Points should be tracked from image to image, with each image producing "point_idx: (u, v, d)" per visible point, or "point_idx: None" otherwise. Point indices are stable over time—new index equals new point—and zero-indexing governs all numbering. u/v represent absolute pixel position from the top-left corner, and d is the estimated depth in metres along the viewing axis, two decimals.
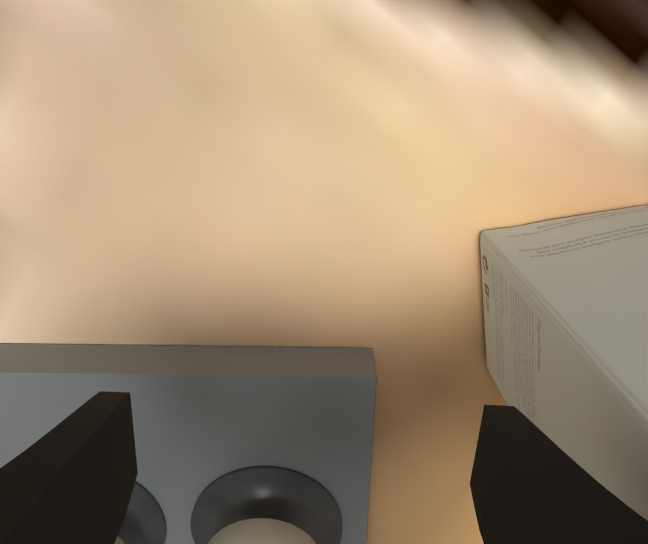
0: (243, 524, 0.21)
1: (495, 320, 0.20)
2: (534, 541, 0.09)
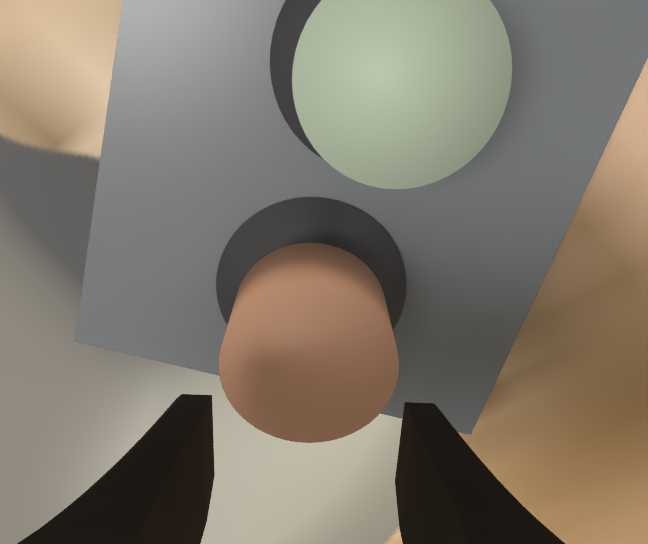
0: None
1: None
2: (435, 537, 0.09)
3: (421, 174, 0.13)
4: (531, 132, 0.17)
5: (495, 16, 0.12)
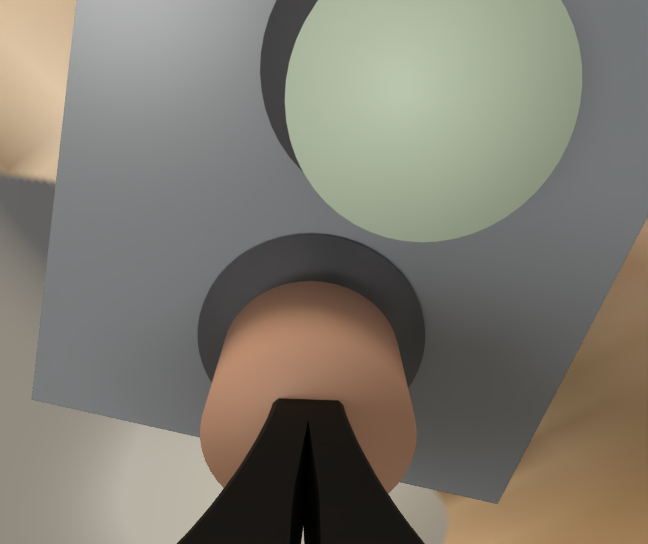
0: None
1: None
2: (314, 534, 0.09)
3: (456, 223, 0.10)
4: (580, 156, 0.14)
5: (562, 14, 0.08)
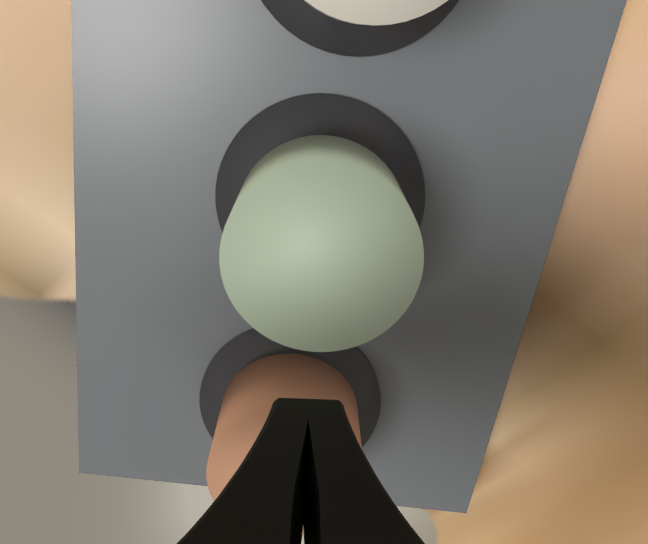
0: None
1: None
2: (314, 533, 0.09)
3: (355, 336, 0.14)
4: (476, 240, 0.18)
5: (397, 198, 0.12)
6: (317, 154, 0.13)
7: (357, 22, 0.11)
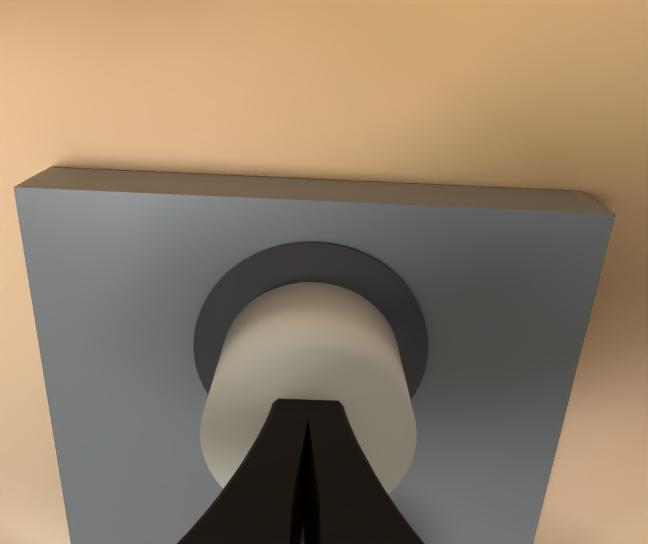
0: None
1: None
2: (314, 534, 0.09)
3: None
4: None
5: None
6: None
7: None
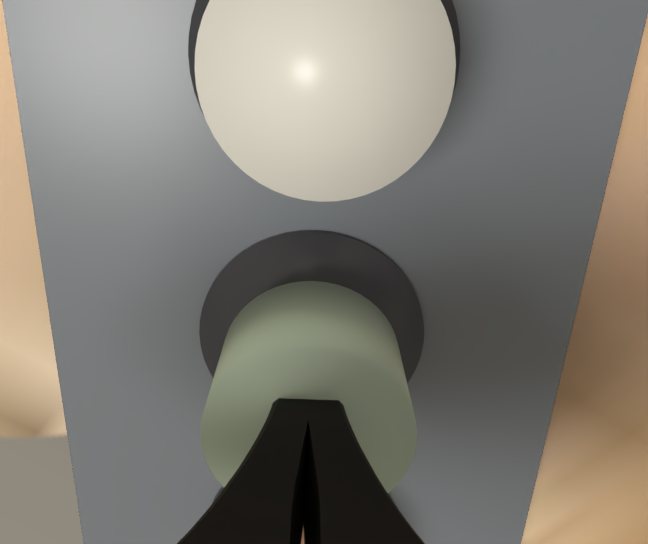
0: None
1: None
2: (315, 534, 0.09)
3: None
4: (483, 359, 0.16)
5: (381, 373, 0.12)
6: (293, 329, 0.12)
7: (317, 200, 0.11)
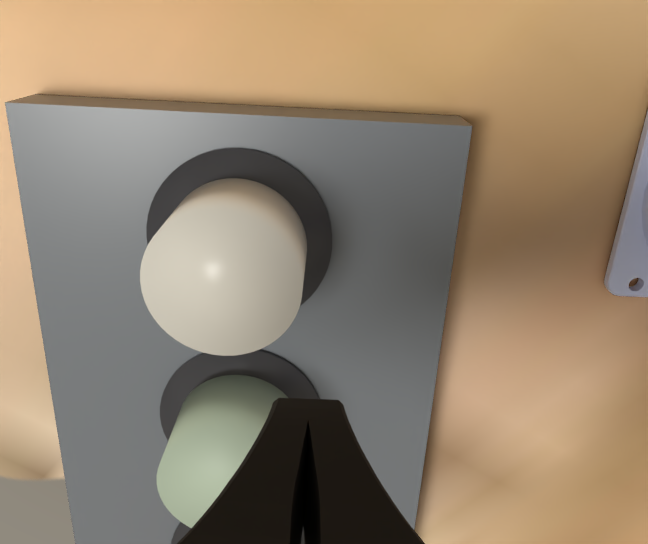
0: None
1: None
2: (314, 534, 0.09)
3: None
4: (368, 434, 0.22)
5: None
6: (215, 416, 0.19)
7: (222, 354, 0.17)
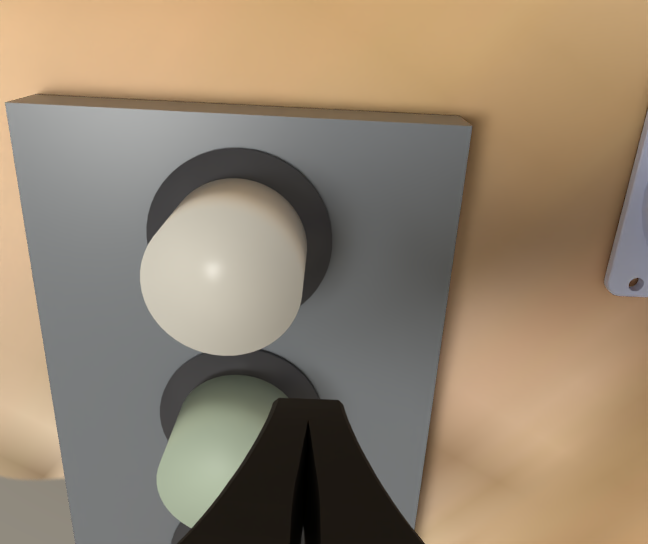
0: None
1: None
2: (314, 534, 0.09)
3: None
4: (368, 434, 0.22)
5: None
6: (215, 416, 0.19)
7: (222, 354, 0.17)
